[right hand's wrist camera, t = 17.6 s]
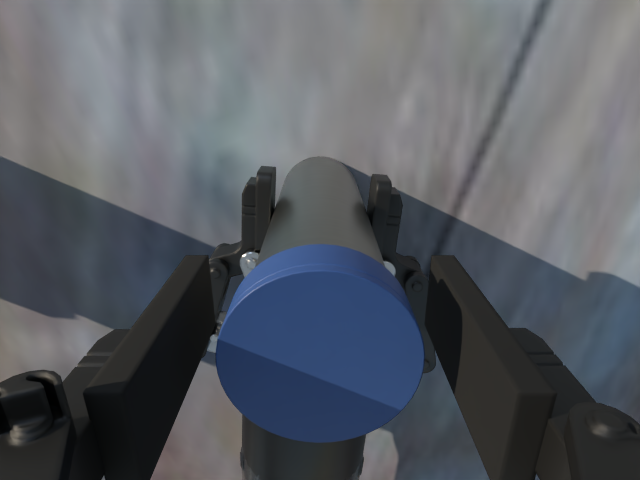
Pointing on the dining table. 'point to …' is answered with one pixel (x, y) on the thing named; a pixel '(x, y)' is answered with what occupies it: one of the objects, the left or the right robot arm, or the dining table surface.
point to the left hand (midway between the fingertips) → (324, 175)
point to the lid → (320, 345)
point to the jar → (320, 211)
